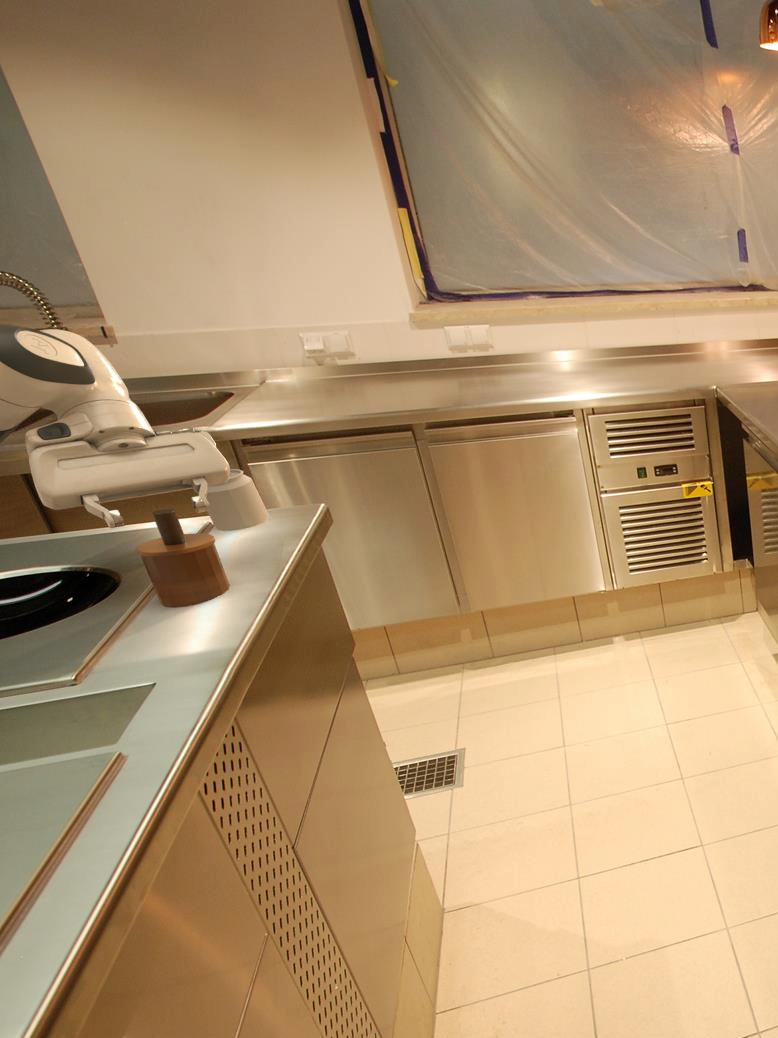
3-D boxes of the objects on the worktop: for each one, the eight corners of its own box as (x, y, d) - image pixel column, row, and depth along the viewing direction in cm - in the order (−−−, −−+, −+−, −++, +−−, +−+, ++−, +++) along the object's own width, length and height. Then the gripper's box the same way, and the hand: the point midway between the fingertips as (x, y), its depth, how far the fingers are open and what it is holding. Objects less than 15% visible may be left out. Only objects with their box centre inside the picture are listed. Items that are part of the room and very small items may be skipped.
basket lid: (149, 565, 113) (132, 524, 110) (130, 552, 117) (114, 512, 115) (226, 549, 119) (211, 510, 116) (205, 537, 123) (191, 499, 121)
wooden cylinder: (173, 617, 116) (149, 559, 113) (155, 604, 120) (132, 547, 117) (241, 600, 122) (221, 545, 119) (222, 588, 126) (202, 534, 123)
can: (273, 527, 150) (242, 463, 143) (282, 540, 145) (250, 474, 139) (221, 540, 145) (187, 474, 139) (229, 553, 141) (194, 486, 134)
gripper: (205, 439, 128) (250, 513, 127) (15, 463, 112) (66, 547, 111) (204, 413, 123) (252, 489, 122) (7, 434, 108) (60, 521, 107)
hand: (162, 517), depth 117 cm, fingers open, 8 cm apart
